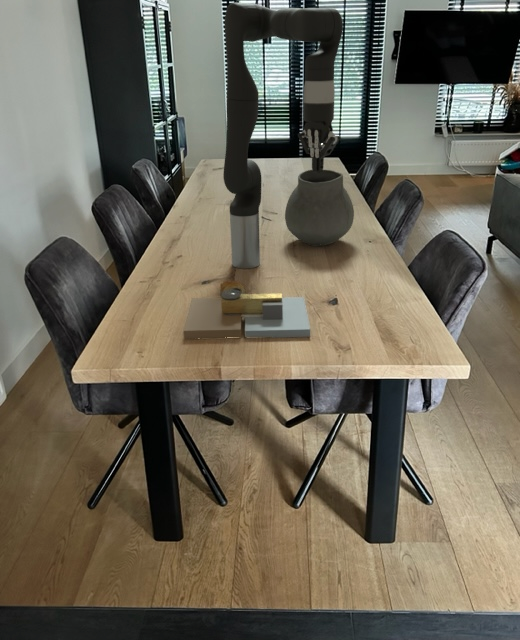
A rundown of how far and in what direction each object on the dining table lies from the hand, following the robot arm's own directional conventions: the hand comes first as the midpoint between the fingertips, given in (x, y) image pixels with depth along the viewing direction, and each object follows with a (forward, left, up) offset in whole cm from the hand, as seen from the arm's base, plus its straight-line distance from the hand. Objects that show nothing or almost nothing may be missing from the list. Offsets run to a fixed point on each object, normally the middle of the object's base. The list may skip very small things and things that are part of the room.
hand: (317, 171), depth 147 cm
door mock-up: (+15, -20, -35) cm, 43 cm away
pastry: (-4, -24, -36) cm, 43 cm away
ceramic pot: (-49, +6, -35) cm, 61 cm away
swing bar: (+15, -18, -32) cm, 40 cm away
